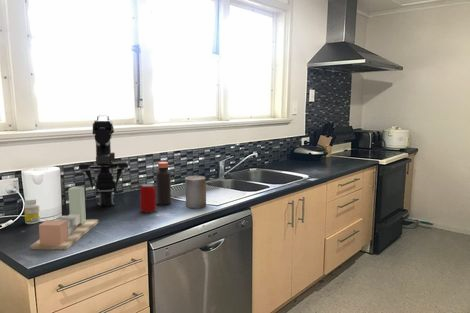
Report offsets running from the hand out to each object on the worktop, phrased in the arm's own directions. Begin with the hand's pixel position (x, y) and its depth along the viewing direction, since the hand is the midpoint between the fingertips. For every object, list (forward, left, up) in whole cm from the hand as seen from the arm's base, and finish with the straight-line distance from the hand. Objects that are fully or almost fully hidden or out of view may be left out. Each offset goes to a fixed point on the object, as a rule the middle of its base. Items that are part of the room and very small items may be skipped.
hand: (104, 187), depth 150 cm
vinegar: (-12, +31, -14) cm, 36 cm away
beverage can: (-4, +20, -14) cm, 25 cm away
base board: (+8, -16, -14) cm, 23 cm away
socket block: (+17, -22, -13) cm, 30 cm away
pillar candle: (0, +42, -14) cm, 44 cm away
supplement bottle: (-14, -25, -14) cm, 32 cm away
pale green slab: (+6, -15, -13) cm, 20 cm away
